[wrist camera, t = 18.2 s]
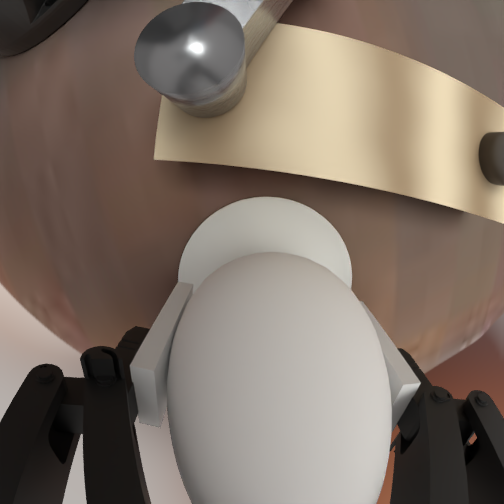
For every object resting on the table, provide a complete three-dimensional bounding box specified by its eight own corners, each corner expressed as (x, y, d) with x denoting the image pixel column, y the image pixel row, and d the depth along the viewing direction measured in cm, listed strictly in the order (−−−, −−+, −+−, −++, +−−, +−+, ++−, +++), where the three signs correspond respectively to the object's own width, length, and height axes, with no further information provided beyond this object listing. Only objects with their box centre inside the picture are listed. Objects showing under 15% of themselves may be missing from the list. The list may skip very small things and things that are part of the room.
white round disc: (178, 343, 20) (177, 348, 19) (186, 186, 17) (184, 187, 16) (328, 358, 20) (329, 362, 20) (364, 210, 17) (367, 211, 17)
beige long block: (180, 161, 16) (131, 158, 9) (196, 53, 15) (164, -7, 7) (464, 211, 17) (536, 235, 10) (473, 121, 15) (545, 117, 8)
